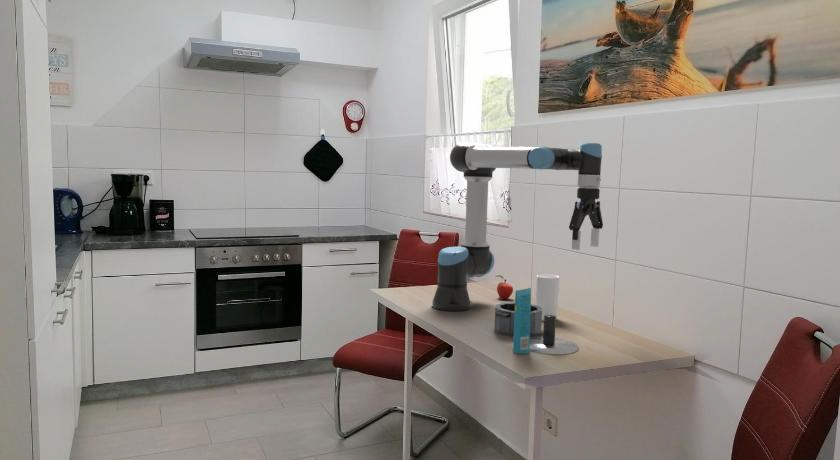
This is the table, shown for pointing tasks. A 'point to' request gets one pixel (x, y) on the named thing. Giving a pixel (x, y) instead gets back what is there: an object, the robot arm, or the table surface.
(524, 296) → the tube
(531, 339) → the lid
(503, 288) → the apple
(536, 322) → the pot
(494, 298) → the table surface
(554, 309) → the cup
